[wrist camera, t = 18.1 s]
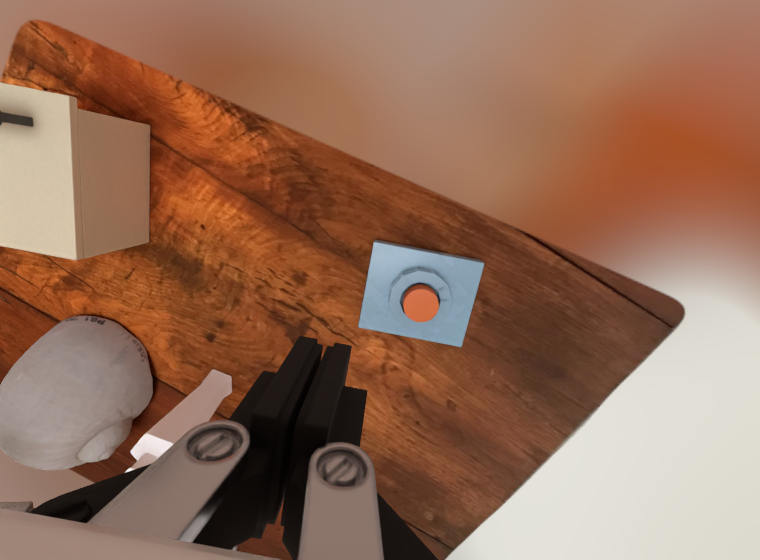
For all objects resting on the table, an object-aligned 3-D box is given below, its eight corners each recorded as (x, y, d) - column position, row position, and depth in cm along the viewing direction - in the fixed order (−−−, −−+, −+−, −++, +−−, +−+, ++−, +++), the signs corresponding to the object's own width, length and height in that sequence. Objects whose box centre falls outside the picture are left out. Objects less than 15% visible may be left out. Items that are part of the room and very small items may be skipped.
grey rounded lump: (113, 381, 54) (89, 488, 44) (-6, 351, 44) (-71, 481, 34) (183, 330, 51) (173, 434, 41) (72, 285, 40) (24, 409, 31)
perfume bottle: (223, 406, 46) (144, 508, 32) (195, 385, 45) (102, 481, 31) (244, 382, 45) (171, 478, 30) (215, 361, 44) (128, 449, 30)
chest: (41, 103, 37) (-65, 80, 29) (150, 125, 37) (77, 108, 29) (49, 223, 40) (-43, 234, 32) (149, 242, 41) (84, 258, 32)
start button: (406, 281, 37) (407, 286, 36) (440, 287, 37) (442, 292, 36) (400, 312, 38) (400, 318, 36) (432, 319, 38) (434, 325, 37)
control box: (374, 239, 39) (372, 244, 36) (481, 259, 39) (489, 267, 36) (359, 321, 42) (356, 333, 39) (459, 340, 42) (464, 354, 39)
